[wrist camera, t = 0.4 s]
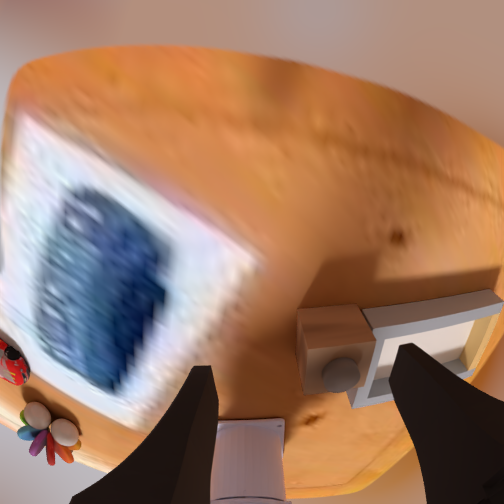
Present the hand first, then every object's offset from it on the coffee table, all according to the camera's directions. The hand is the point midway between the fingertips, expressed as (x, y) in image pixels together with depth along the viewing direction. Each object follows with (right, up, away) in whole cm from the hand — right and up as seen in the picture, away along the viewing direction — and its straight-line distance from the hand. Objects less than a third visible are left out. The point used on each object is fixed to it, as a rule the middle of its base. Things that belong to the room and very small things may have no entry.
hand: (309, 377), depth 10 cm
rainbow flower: (-29, -19, +19) cm, 40 cm away
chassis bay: (+14, -4, +13) cm, 19 cm away
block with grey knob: (+4, -1, +12) cm, 12 cm away
